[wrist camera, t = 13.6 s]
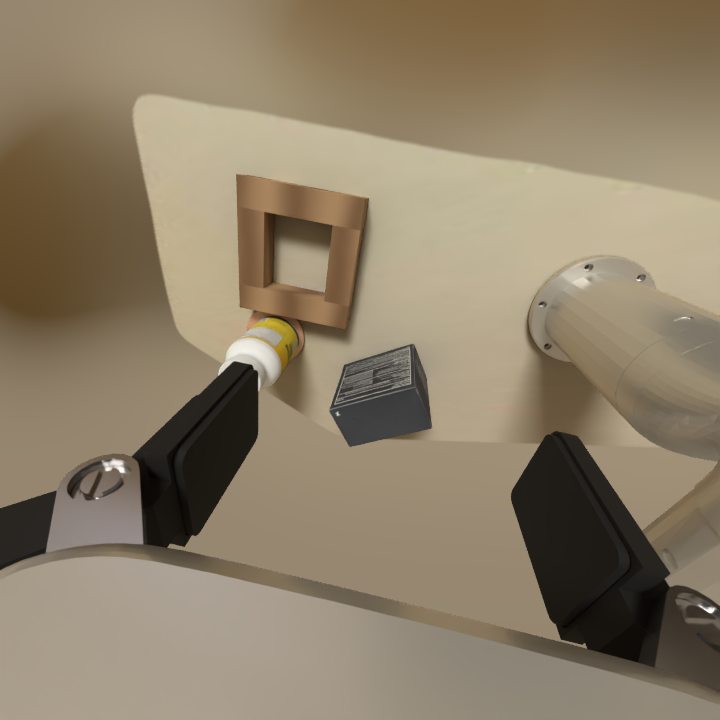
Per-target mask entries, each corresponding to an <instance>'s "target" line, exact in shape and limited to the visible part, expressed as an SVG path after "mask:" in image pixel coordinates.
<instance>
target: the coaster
mask: <svg viewBox="0 0 720 720" xmlns="http://www.w3.org/2000/svg"><path fill="white" fill-rule="evenodd" d="M267 316H279V317H282V318H284V319H286V320H288V321H289V322H290V323H292V325H293V326H294V327H295V328H296V330H297V332H298V335H299V347H298V349H297V351H296V353H295V354H294V356H293V357H292V358H294V357H295V356H297V355H298V354H299V352H300V351H301V349H302V347H303V345H304V331H303V328H302V326H301V324H300V322H299V321H298V319H294V318H289V317H284V316H280V315H275V314H270V313H265V312H261V311H257V312H255V313H254V314H253V315H252V316H251V318H250V320H249V322H248V326H247V331H248V330H249V329H250V328H251V327H252V326H253V325H255V324H256V323H257V322H258V321H259V320H260V319H262V318H264V317H267Z"/></svg>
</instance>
